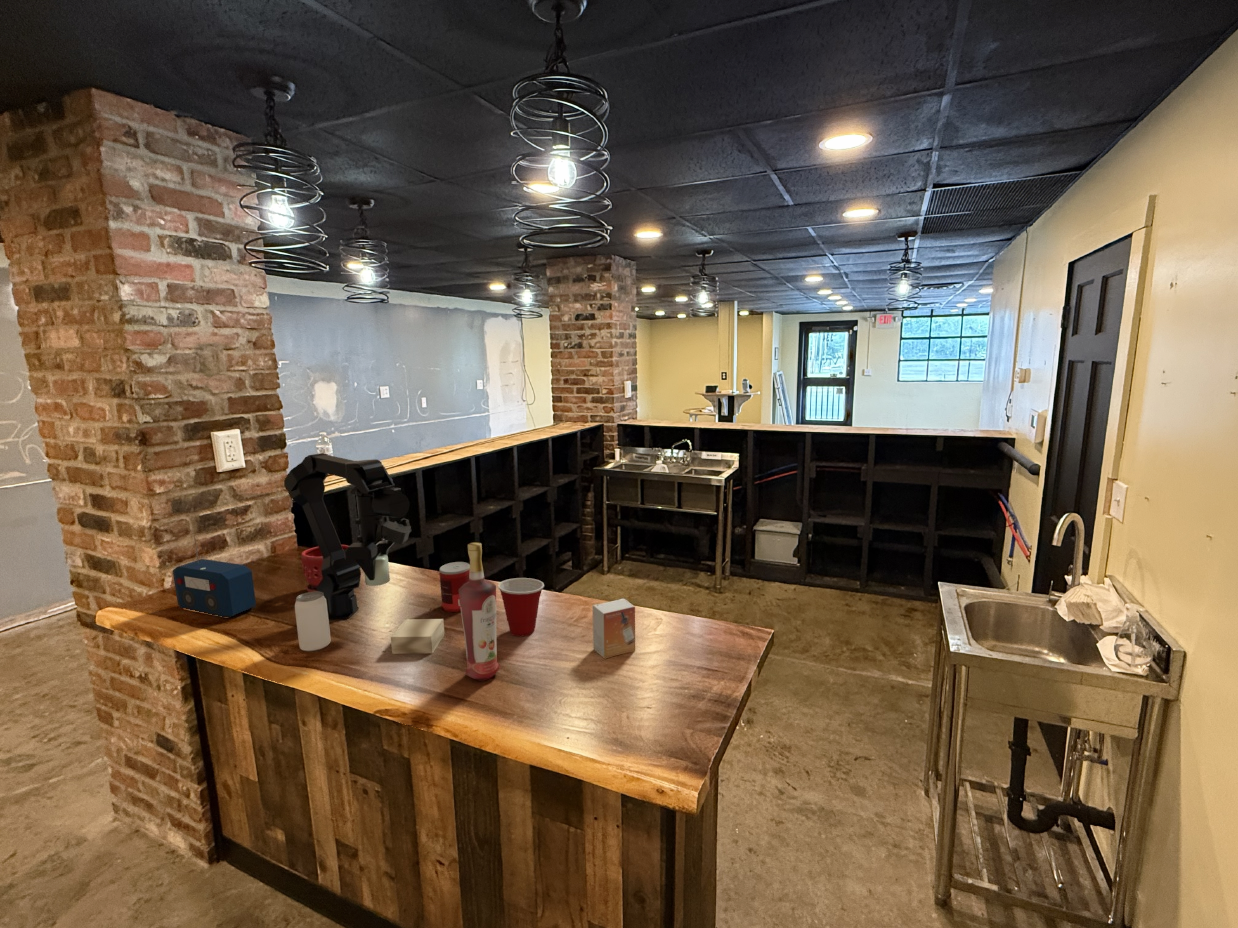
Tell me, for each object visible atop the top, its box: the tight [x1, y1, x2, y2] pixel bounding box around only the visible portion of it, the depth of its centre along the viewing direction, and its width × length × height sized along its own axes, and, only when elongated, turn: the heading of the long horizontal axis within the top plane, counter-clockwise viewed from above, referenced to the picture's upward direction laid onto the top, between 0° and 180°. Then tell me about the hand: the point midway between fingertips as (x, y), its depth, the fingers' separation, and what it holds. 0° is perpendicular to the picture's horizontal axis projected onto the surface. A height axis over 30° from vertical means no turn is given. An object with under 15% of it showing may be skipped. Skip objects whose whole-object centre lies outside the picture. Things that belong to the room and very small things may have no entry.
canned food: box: [439, 561, 470, 613], centre depth 156 cm, size 8×8×11 cm
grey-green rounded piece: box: [364, 554, 391, 587], centre depth 144 cm, size 6×6×6 cm
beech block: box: [390, 618, 445, 655], centre depth 136 cm, size 9×9×4 cm
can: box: [294, 591, 332, 652], centre depth 136 cm, size 6×6×12 cm
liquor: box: [459, 542, 501, 681], centre depth 120 cm, size 7×7×28 cm
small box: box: [592, 598, 636, 659], centre depth 131 cm, size 8×6×10 cm
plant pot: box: [300, 544, 349, 593], centre depth 169 cm, size 13×13×12 cm
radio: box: [172, 535, 257, 618], centre depth 156 cm, size 21×9×20 cm, turn 69°
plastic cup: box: [497, 577, 545, 637], centre depth 141 cm, size 11×11×12 cm
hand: (377, 575), depth 144 cm, fingers closed on grey-green rounded piece, 5 cm apart
